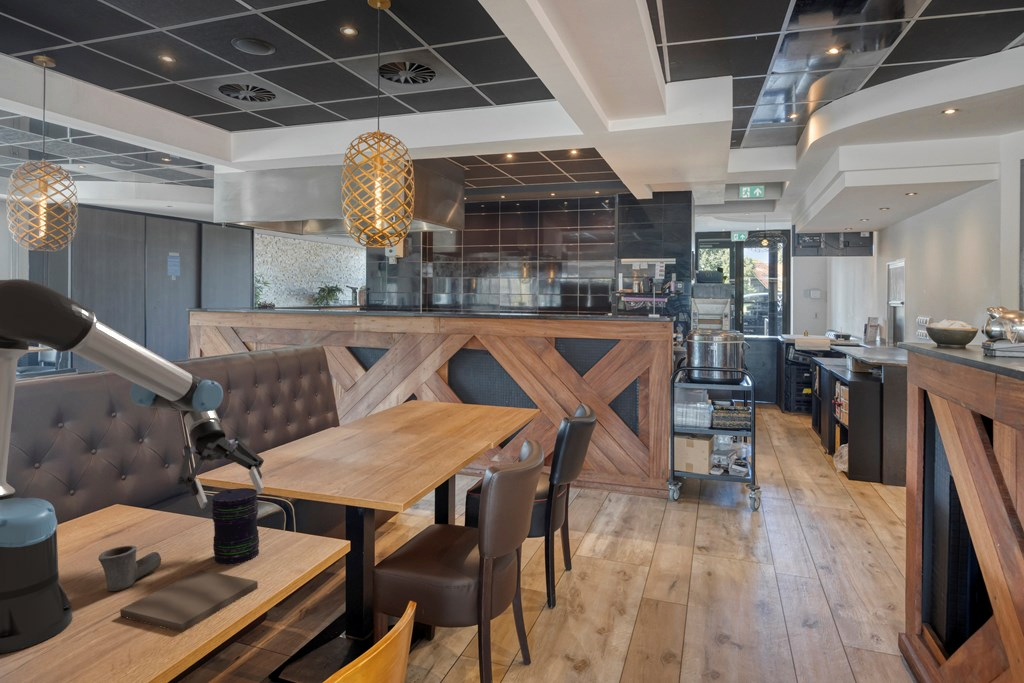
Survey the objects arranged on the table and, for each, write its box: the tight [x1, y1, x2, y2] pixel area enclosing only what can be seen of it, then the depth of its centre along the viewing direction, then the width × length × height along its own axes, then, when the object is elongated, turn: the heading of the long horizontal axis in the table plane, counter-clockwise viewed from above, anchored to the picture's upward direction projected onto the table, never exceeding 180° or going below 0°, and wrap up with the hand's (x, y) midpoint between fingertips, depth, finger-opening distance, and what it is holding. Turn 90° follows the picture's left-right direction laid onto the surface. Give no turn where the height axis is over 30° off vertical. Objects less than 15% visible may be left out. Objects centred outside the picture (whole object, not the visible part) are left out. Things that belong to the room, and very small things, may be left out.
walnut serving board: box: [119, 569, 259, 633], centre depth 117 cm, size 18×16×2 cm
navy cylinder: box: [211, 487, 260, 566], centre depth 139 cm, size 10×10×15 cm
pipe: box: [97, 545, 162, 592], centre depth 126 cm, size 6×13×8 cm, turn 164°
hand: (233, 498), depth 142 cm, fingers open, 13 cm apart
